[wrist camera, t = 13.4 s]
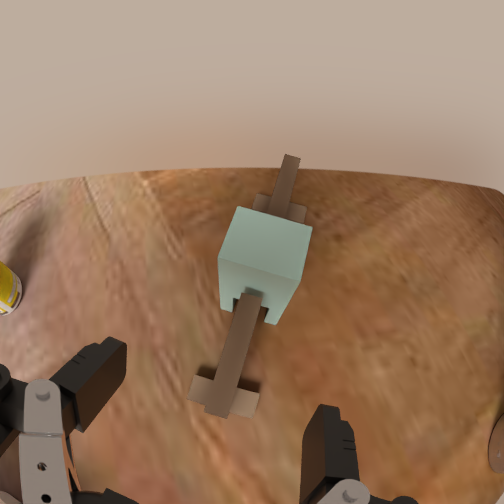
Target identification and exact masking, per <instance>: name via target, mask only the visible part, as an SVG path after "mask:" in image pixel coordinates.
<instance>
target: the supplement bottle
mask: <svg viewBox="0 0 504 504" xmlns="http://www.w3.org/2000/svg"><path fill="white" fill-rule="evenodd" d="M21 295H22V285H21V281H20V279H19V278H18V276H17V275H16V274H15V273H14V272H12V271H11V270H10V269H9V268H8V267H7V266H5V265H4V264H3V263H2V262H1V261H0V315H7V314H10V313H11V312H12V311H14V310H15V308H16V307H17V305H18V304H19V302H20V299H21Z"/></svg>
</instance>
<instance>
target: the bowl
mask: <svg viewBox="0 0 504 504" xmlns="http://www.w3.org/2000/svg"><path fill="white" fill-rule="evenodd" d="M20 503H21V502H19V501H18V500H17V499H15V498H14V497H12V496H11V495H10V494H8V493H6V492H3V491H0V504H20Z"/></svg>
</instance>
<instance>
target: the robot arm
mask: <svg viewBox="0 0 504 504" xmlns="http://www.w3.org/2000/svg"><path fill="white" fill-rule="evenodd" d="M126 358H127V345H126V343H124V342H122V341H120V340H117V339H115V338H113V337H107V338H106V339H105V340H104V341H103V342H102V343H101V344H100V345H99V344H97V343H93V344H90V345H88V346H85V347H84V348H83V349H82V350H80V351H79V352H78V353H77V355H75V356H74V357H73V358H72V359H71V360H69V361H68V362H67V363H66V364H65V365H64V366H63V367H62V368H61V369H60V370H59V371H58V372H57V373H55V374H54V375H53V376H52V377H51V378H50V379H49V380H46V379H37V380H34V381H32V382H30V383H25V382H22V381H19V380H16V379H14V378H11V375H10V372H9V370H8V368H7V367H6V366H4V365H2V364H0V457H1V456H2V455H3V453H4V452H5V451H6V449H7V448H8V447H9V446H10V444H11V443H12V442H13V441H14V439H15V438H16V437H17V436H18V434H19V433H20V432H21V433H20V434H19V463H20V479H21V490H22V499H23V503H20V504H139V503H137V502H136V501H134V500H132V499H129V498H127V497H125V496H123V495H121V494H118V493H116V492H114V491H112V490H110V489H108V488H106V490H105V491H104V493H99V492H93V491H81V488H80V484H79V480H78V477H77V473H76V468H75V462H74V456H73V450H72V443H71V436H70V433H71V432H72V431H73V430H74V428H75V429H77V430H78V431H80V432H82V433H84V431H85V430H86V429H87V427H88V426H89V425H90V424H91V422H92V421H93V420H94V418H95V417H96V416H97V414H98V413H99V412H100V411H101V409H102V408H103V407H104V405H105V404H106V403H107V402H108V400H109V399H110V398H111V396H112V395H113V394H114V393H115V391H116V390H117V389H118V388H119V386H120V385H121V384H122V382H123V380H124V378H125V375H126ZM22 432H23V433H22ZM354 442H355V439H354V432H353V429H352V428H351V426H350V425H349V423H348V421H343V420H341V418H340V410H339V408H338V407H334V406H329V405H324V404H320V405H319V406H318V408H317V410H316V411H315V413H314V415H313V417H312V418H311V420H310V422H309V424H308V425H307V427H306V429H305V432H304V435H303V441H302V464H301V484H300V500H299V504H418V502H417V501H416V500H414V499H413V498H411V497H408V496H400V497H397V498H395V499H394V500H393V501H387V500H384V499H380V498H377V497H374V496H372V495H370V493H369V490H368V489H367V487H366V486H365V485H364V484H363V483H361V482H360V479H359V470H358V462H357V454H356V451H355V450H356V446H355V443H354ZM489 463H490V466H491V468H492V469H493V471H495V472H497V473H504V414H503V415H502V416H501V417H500V419H499V420H498V422H497V424H496V426H495V428H494V430H493V433H492V436H491V440H490V444H489Z"/></svg>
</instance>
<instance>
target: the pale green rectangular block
mask: <svg viewBox="0 0 504 504" xmlns="http://www.w3.org/2000/svg"><path fill="white" fill-rule="evenodd" d="M312 228H313V227H310V226H307V225H303V224H300V223H297V222H293V221H290V220H286V219H283V218H279V217H276V216H272V215H269V214H265V213H262V212H258V211H255V210H251V209H247V208H244V207H240V206H238V207H237V209H236V212H235V214H234V217H233V219H232V222H231V224H230V227H229V229H228V232H227V234H226V237H225V240H224V242H223V245H222V247H221V250H220V252H219V255H218V274H219V291H220V307H221V309H223V310H226V311H229V312H233V309H234V306H235V303H236V300H237V299H240V296H241V292H242V293H246V294H249V295H253V296H256V297H260V298H263V300H262V303H261V306H263V307H266V308H268V309H267V313H266V316H265V320H264V322H266V323H270V324H273V325H276V324H277V322H278V320H279V319H280V317H281V315H282V313H283V312H284V310H285V308H286V306H287V305H288V303H289V301H290V299H291V298H292V296H293V294H294V292H295V290H296V289H297V287H298V285H299V283H300V281H301V277H302V273H303V268H304V264H305V260H306V255H307V251H308V246H309V242H310V237H311V232H312Z"/></svg>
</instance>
